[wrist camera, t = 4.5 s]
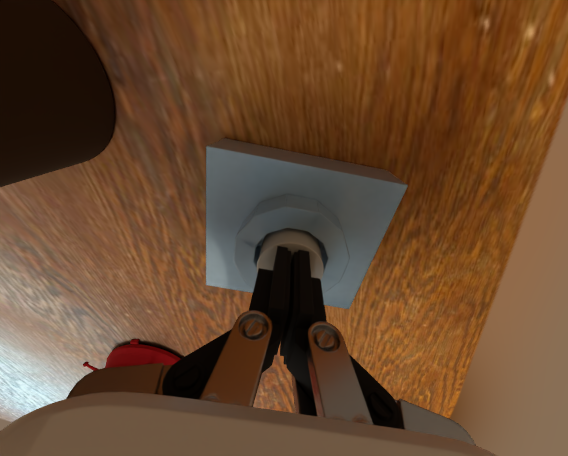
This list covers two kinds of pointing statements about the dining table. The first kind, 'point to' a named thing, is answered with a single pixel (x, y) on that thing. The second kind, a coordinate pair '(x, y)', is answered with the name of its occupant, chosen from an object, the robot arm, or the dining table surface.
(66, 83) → the olive oil
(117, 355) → the alarm clock
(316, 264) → the round push button
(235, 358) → the robot arm
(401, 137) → the dining table surface
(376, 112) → the dining table surface
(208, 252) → the square base with collar
